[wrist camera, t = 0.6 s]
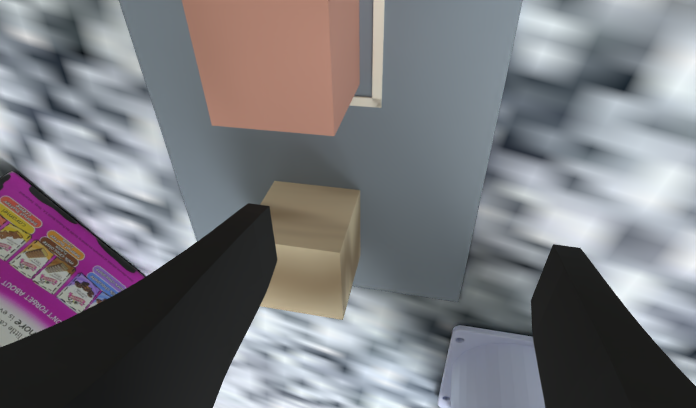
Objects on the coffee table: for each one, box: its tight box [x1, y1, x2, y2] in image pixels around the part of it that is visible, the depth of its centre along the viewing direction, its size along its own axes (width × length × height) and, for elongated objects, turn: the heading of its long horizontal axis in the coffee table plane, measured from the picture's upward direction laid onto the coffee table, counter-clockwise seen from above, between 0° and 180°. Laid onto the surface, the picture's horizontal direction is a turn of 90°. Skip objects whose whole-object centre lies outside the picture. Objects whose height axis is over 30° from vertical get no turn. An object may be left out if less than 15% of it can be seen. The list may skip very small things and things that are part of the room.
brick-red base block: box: [182, 0, 360, 136], centre depth 15 cm, size 4×4×4 cm
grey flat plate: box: [119, 0, 523, 302], centre depth 20 cm, size 20×16×1 cm
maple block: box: [260, 181, 360, 320], centre depth 21 cm, size 4×4×4 cm
